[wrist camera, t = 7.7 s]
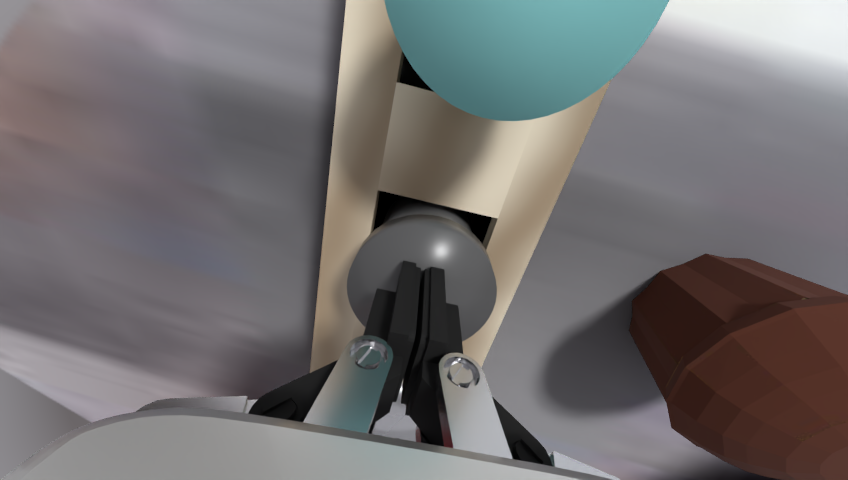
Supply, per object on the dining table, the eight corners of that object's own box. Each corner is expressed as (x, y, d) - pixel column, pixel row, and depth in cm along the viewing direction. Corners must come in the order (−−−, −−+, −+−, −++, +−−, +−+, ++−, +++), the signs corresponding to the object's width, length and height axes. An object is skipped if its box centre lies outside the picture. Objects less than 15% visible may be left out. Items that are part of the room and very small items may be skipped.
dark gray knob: (492, 194, 17) (519, 247, 11) (461, 283, 19) (471, 361, 14) (384, 168, 16) (357, 209, 11) (368, 262, 19) (338, 334, 14)
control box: (633, -98, 13) (735, -196, 8) (440, 395, 27) (440, 457, 23) (392, -174, 12) (365, -325, 8) (323, 372, 26) (299, 431, 22)
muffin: (603, 371, 25) (695, 530, 16) (611, 253, 20) (746, 385, 11) (768, 354, 23) (971, 519, 15) (817, 222, 19) (1163, 346, 10)
